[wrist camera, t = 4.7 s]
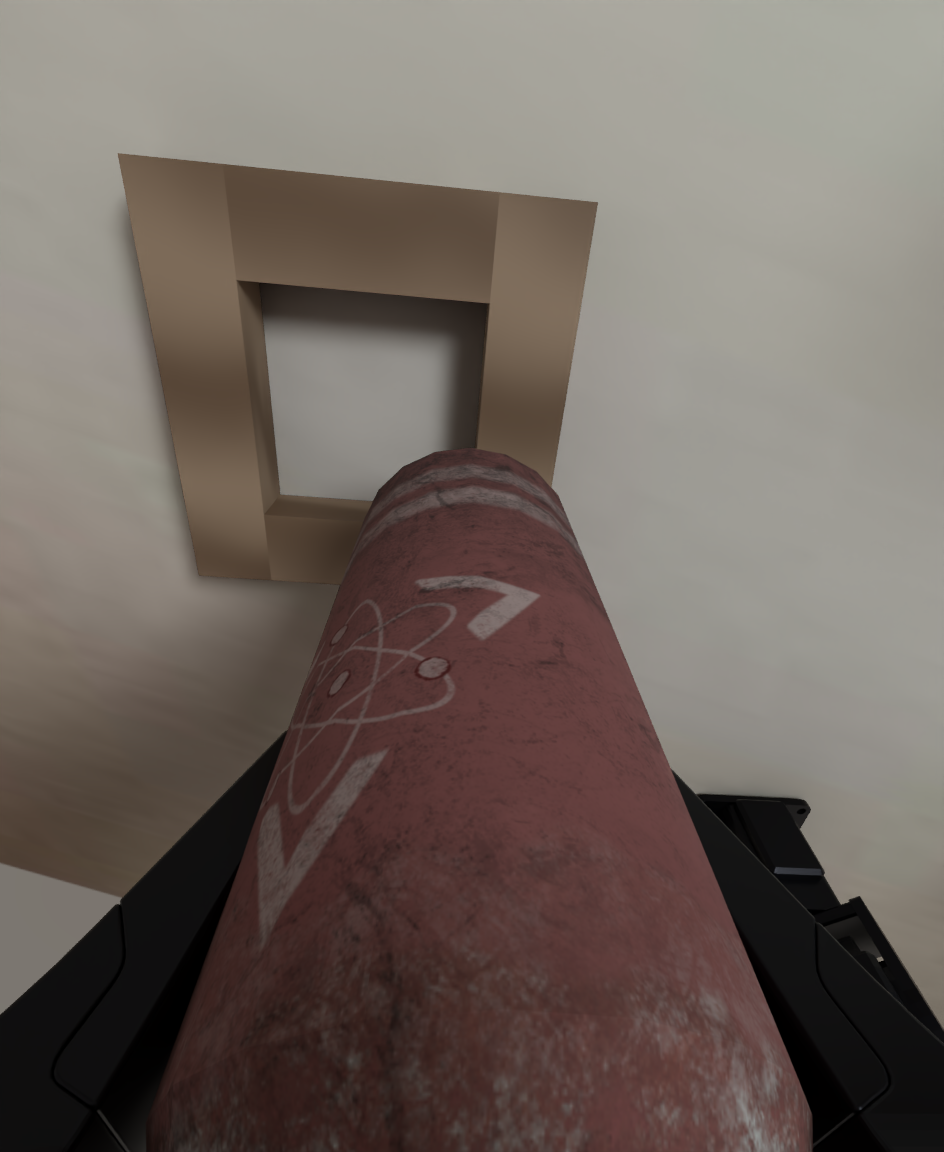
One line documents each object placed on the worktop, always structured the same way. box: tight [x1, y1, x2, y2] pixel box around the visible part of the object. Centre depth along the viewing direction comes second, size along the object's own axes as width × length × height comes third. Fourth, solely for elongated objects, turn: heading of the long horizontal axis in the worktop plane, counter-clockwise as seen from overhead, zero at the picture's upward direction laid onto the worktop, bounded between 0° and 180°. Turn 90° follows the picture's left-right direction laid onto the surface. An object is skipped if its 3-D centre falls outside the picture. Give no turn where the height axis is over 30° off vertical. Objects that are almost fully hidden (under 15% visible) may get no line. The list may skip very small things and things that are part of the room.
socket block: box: [118, 153, 598, 585], centre depth 19 cm, size 13×13×2 cm
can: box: [145, 448, 813, 1152], centre depth 10 cm, size 6×6×14 cm
